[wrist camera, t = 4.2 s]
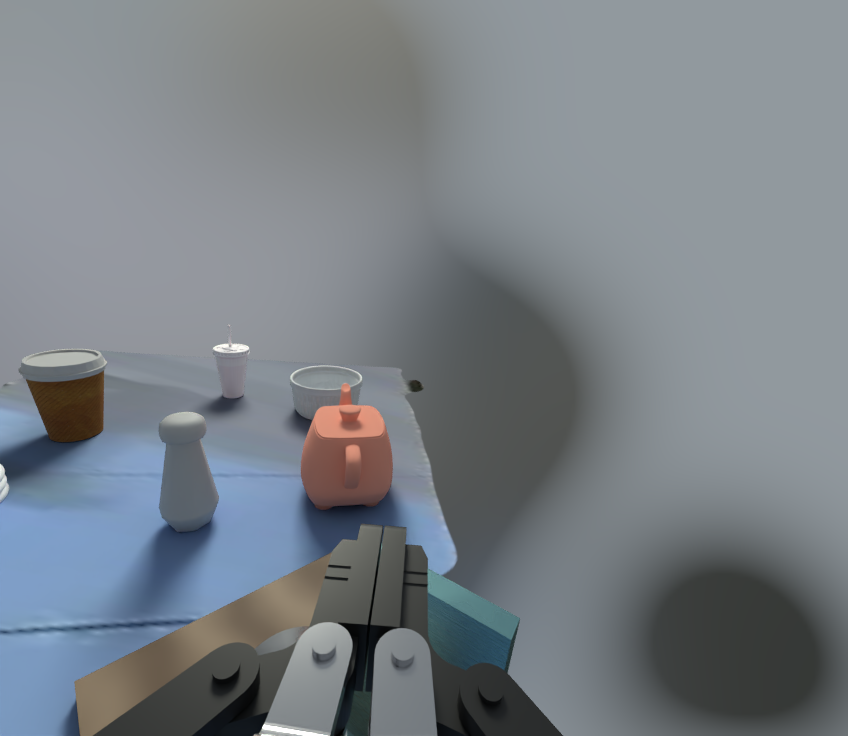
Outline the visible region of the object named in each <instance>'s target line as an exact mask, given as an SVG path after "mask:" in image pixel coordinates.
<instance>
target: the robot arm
mask: <svg viewBox="0 0 848 736" xmlns="http://www.w3.org/2000/svg"><path fill="white" fill-rule="evenodd" d="M382 535H383V526H382V525H371V524H361V526H360V530H359V534H358V539H357V540H346V539H342V540H341V542H340V543H339V544H338V545H337V546H336V547H335V548H334V550H333V551H332V554H331V557H330V561H329V564H328V567H327V570H326V574H325V578H324V580H323V584H322V587H321V590H320V594H319V597H318V600H317V604H316V607H315V610H314V614H313V617H312V620H311V623H310V626H309V628H308V629H307V630H306V631H305V632H304V633H303V634H302V635H301V637H300V638H299V640H298V641H297V642H295V643H294V644H293V645H291V646H289V647H287V648H285V649H282V650H279V651H275V652H271V653H267V654H263V655H259V656H258V653H257V652H256V650H255V649H254V648H253V647H252V646H250V645H249V644H246V643H241V642H234V643H229V644H226V645H223V646H221V647H218V648H217V649H215V650H213V651H212V652H210V653H209V654H208V655H206V656H205V657H203V658H202V659H200V660H199V661H198V662H196V663H195V664H193V665H192V666H191V667H189V668H188V669H186V670H185V671H183V672H182V673H181V674H179V675H178V676H176V677H175V678H174V679H172V680H171V681H169V682H168V683H166V684H165V685H164V686H162V687H161V688H159V689H158V690H157V691H155V692H154V693H152V694H151V695H149V696H148V697H147V698H145V699H144V700H142V701H141V702H140V703H138V704H137V705H135V706H134V707H132V708H131V709H130V710H128V711H127V712H125V713H124V714H123V715H121V716H120V717H118V718H117V719H115V720H114V721H113V722H111V723H110V724H108V725H107V726H106V727H104V728H103V729H101V730H100V731H98V732H97V733H96V734H94V735H93V736H345V735H346V731H347V726H348V720H349V717H350V714H351V709H352V703H353V696H354V691H363V686H364V679H365V671H366V664H367V675H366V688H365V692H371V702H370V715H369V726H368V736H563V735H562V734H561V733H560V732H559V731H558V730H557V729H556V728H555V726H554V725H553V724H552V723H551V722H550V721H549V719H548V718H547V717H546V716H545V715H544V714H543V713H542V712H541V710H539V708H538V707H537V706H536V705H535V704H534V703H533V701H532V700H531V699H530V698H529V697H528V696H527V695H526V694H525V693H524V691H523V690H522V689H521V688H520V687H519V686H518V685H517V683H516V682H515V681H514V680H513V679H512V678H511V677H510V676H509V675H508V674H507V673H506V672H505V671H504V670H503V669H501V668H500V667H498V666H496V665H493V664H490V663H477V664H475V665H472V666H471V667H469V668H468V669H467V670H464V669H461V668H459V667H457V666H454V665H452V664H450V663H448V662H446V661H445V660H444V659H442V658H441V657H440V656H439V655H438V654H437V653H436V652H435V650H434V649H433V647H432V646H431V643H430V641H429V637H428V558H427V556H426V554H425V552H424V550H423V548H422V546H418V545H406V544H405V543H406V527H395V526H385V528H384V535H383V542H382ZM381 547H382V548H381ZM367 657H368V662H367Z"/></svg>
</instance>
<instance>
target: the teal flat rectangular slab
mask: <svg viewBox="0 0 848 736" xmlns="http://www.w3.org/2000/svg"><path fill="white" fill-rule="evenodd" d="M381 548H382V547H381ZM519 621H520V618H518V617H517V616H515V615H513V614H511V613H509V612H508V611H506V610H504V609H502V608H500V607H498V606H496V605H495V604H493V603H491V602H489V601H487V600H485V599H483V598H482V597H480V596H478V595H475V594H474V593H472V592H470V591H469V590H467V589H465V588H463V587H461V586H459V585H457V584H456V583H454V582H452V581H450V580H448V579H446V578H445V577H443V576H441V575H439V574H437V573H435V572H433V571H432V570H430V569H428V637H429V641H430V643H431V646H432V647H433V649H434V650H435V652H436V653H437V654H438V655H439V656H440V657H441V658H442V659H444V660H445V661H446V662H448V663H450V664H452V665H454V666H457V667H459V668H461V669H464V670H467V669H468V668H469V667H471V666H472V665H475V664H477V663H490V664H493V665H496V666H498V667H500V668H501V669H503V670H504V671H505V672H506V673H508V668H509V664H510V660H511V656H512V651H513V647H514V643H515V638H516V634H517V630H518V626H519ZM308 628H309V626H303V627H295V628H290V629H287V630H284V631H281V632H279V633H277V634H275V635H273V636H271V637H270V638H268V639H267V640H265V641H264V642H262V643H261V644H260V645H259V646H258V647H256V648H255V650H256V652H257V653H258V656H259V655H263V654H267V653H271V652H275V651H279V650H282V649H285V648H287V647H289V646H291V645H293V644H294V643H295V642H297V641H298V640H299V638H300V637H301V635H302V634H303V633H304V632H305V631H306V630H307V629H308ZM367 662H368V657H367ZM366 675H367V664H366V671H365V679H364V686H363V691H354V696H353V703H352V709H351V714H350V717H349V720H348V726H347V731H346V735H345V736H368V726H369V715H370V702H371V692H365V688H366Z"/></svg>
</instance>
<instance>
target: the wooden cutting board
mask: <svg viewBox="0 0 848 736" xmlns="http://www.w3.org/2000/svg"><path fill="white" fill-rule="evenodd" d="M331 554H332V553H330V554H328V555H326V556H324V557H322V558H320V559H318V560H316V561H314V562H312V563H310V564H308V565H306V566H304V567H302V568H300V569H298V570H296V571H294V572H292V573H290V574H288V575H286V576H284V577H282V578H280V579H278V580H276V581H274V582H272V583H270V584H268V585H266V586H264V587H262V588H260V589H258V590H256V591H254V592H252V593H250V594H248V595H246V596H244V597H242V598H240V599H238V600H236V601H234V602H232V603H230V604H228V605H226V606H224V607H222V608H220V609H218V610H216V611H214V612H212V613H210V614H208V615H206V616H204V617H202V618H200V619H198V620H196V621H194V622H192V623H190V624H188V625H186V626H184V627H182V628H180V629H178V630H176V631H174V632H172V633H170V634H168V635H166V636H164V637H162V638H160V639H158V640H156V641H154V642H152V643H150V644H148V645H146V646H144V647H142V648H140V649H138V650H136V651H134V652H132V653H130V654H128V655H126V656H124V657H122V658H120V659H118V660H117V661H115V662H113V663H111V664H109V665H107V666H105V667H103V668H101V669H99V670H97V671H95V672H93V673H91V674H89V675H87V676H85V677H83V678H81V679H79V680H77V681H75V692H76V701H77V711H78V721H79V731H80V736H93V735H94V734H96V733H97V732H98V731H100V730H101V729H103V728H104V727H106V726H107V725H108V724H110V723H111V722H113V721H114V720H115V719H117V718H118V717H120V716H121V715H123V714H124V713H125V712H127V711H128V710H130V709H131V708H132V707H134V706H135V705H137V704H138V703H140V702H141V701H142V700H144V699H145V698H147V697H148V696H149V695H151V694H152V693H154V692H155V691H157V690H158V689H159V688H161V687H162V686H164V685H165V684H166V683H168V682H169V681H171V680H172V679H174V678H175V677H176V676H178V675H179V674H181V673H182V672H183V671H185V670H186V669H188V668H189V667H191V666H192V665H193V664H195V663H196V662H198V661H199V660H200V659H202V658H203V657H205V656H206V655H208V654H209V653H210V652H212V651H213V650H215V649H217V648H218V647H221V646H223V645H226V644H229V643H234V642H241V643H246V644H249V645H250V646H252V647H253V648H254V649H255V648H256V647H258V646H259V645H260V644H261V643H262V642H264V641H265V640H267V639H268V638H270V637H271V636H273V635H275V634H277V633H279V632H281V631H284V630H287V629H290V628H295V627H303V626H310V623H311V620H312V617H313V614H314V610H315V607H316V604H317V600H318V597H319V594H320V590H321V587H322V584H323V580H324V578H325V574H326V570H327V567H328V564H329V561H330V557H331Z"/></svg>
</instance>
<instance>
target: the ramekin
mask: <svg viewBox="0 0 848 736" xmlns="http://www.w3.org/2000/svg"><path fill="white" fill-rule="evenodd" d="M344 383H347V384H349V386H350V388H351V400H352V405H357V404H358V400H359V394H360V388H361V386H362V376H361V375H360V374H359V373H358V372H356V371H354V370H351V369H348V368H344V367H338V366H312V367H307V368H303V369H300V370H297V371H295V372H294V373H293V374H292V375H291V376H290V386H291V387H292V394H293V401H294V406H295V409H296V410H297V412H298V413H299V414H300V415H301V416H303V417H304V418H307V419H310V420H313V418H314V416H315V414H316V412H317V410H318V409H319V408H321V407H323V406H339V402H340V397H341V387H342V385H343V384H344Z"/></svg>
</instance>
